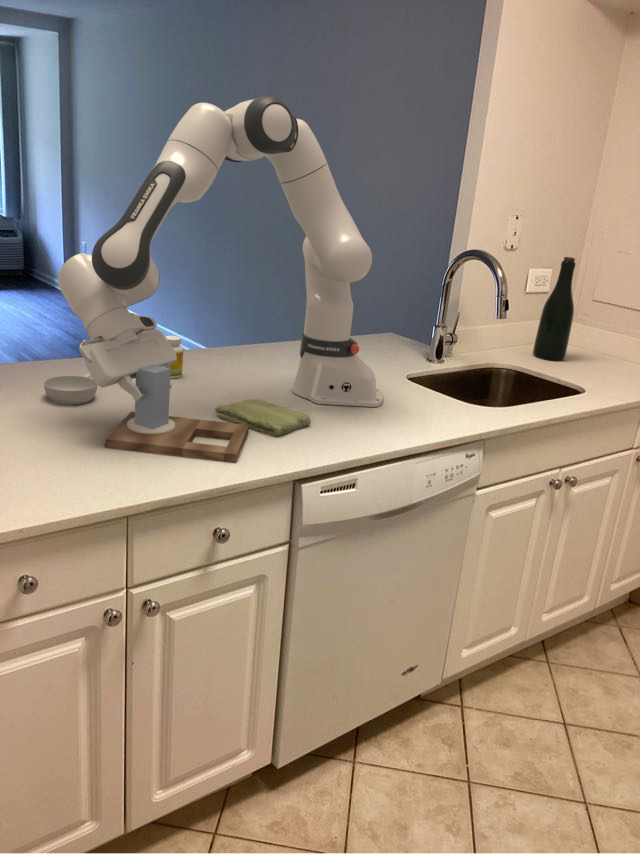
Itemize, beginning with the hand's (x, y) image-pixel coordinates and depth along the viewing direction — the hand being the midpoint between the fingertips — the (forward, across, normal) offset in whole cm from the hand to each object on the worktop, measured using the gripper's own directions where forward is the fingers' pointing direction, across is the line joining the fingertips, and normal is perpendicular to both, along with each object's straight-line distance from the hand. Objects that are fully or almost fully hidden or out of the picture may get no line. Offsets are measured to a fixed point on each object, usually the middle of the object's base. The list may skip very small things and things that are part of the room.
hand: (154, 393), depth 138 cm
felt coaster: (+4, 0, +5) cm, 7 cm away
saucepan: (-13, +9, +26) cm, 30 cm away
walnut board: (+10, +2, +2) cm, 10 cm away
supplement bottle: (-10, +34, +22) cm, 42 cm away
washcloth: (+14, +22, -1) cm, 26 cm away
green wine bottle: (+41, +143, -28) cm, 151 cm away
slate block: (+4, 0, +5) cm, 6 cm away
